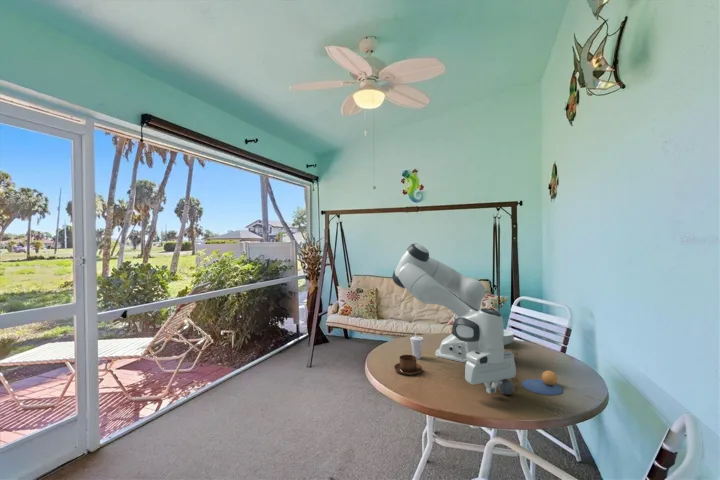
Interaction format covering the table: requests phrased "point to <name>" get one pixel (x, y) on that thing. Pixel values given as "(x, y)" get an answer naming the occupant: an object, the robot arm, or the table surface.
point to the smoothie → (416, 346)
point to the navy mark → (541, 387)
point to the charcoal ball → (505, 386)
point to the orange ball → (549, 378)
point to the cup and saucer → (408, 365)
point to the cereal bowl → (508, 337)
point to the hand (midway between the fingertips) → (491, 392)
